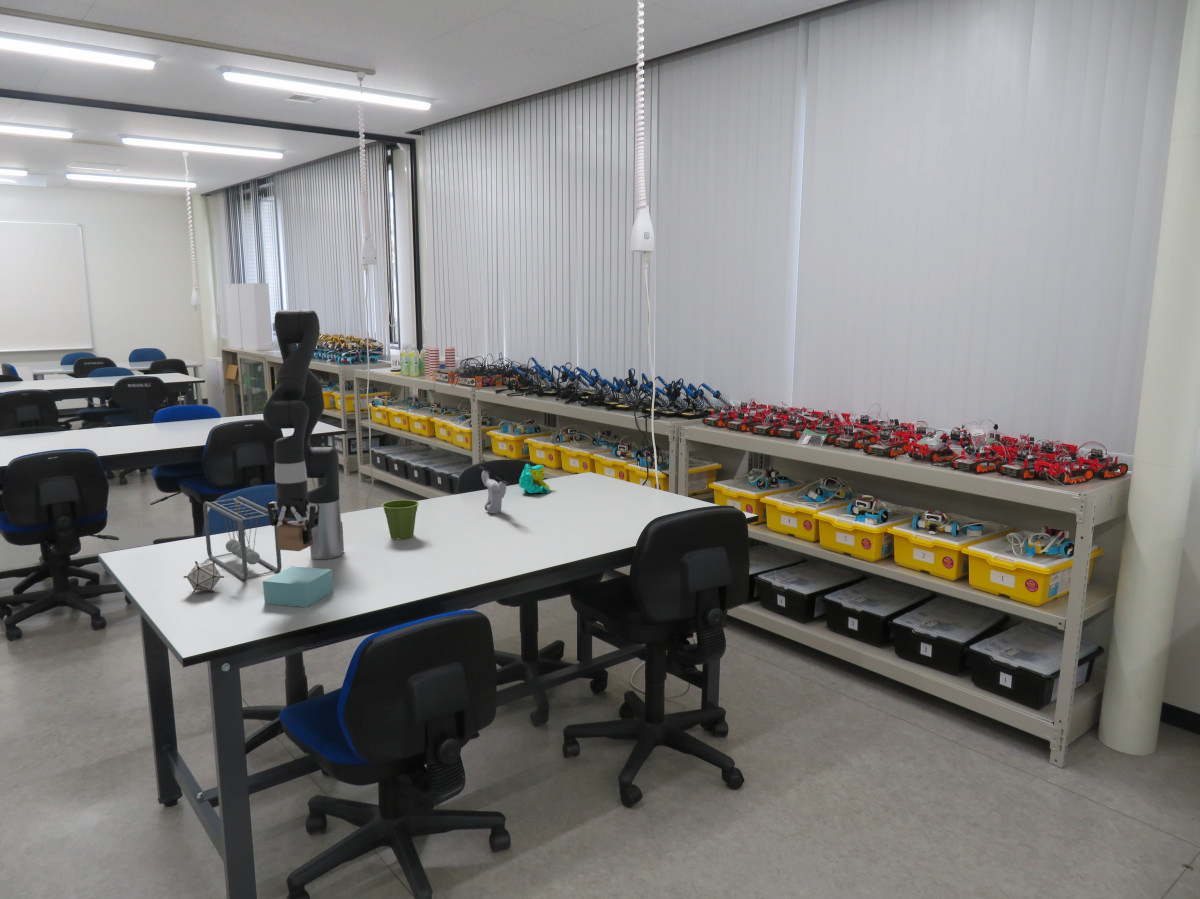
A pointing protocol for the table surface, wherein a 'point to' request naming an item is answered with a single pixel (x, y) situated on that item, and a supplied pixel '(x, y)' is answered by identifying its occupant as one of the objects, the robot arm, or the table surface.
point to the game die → (204, 576)
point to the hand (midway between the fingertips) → (295, 542)
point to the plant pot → (401, 517)
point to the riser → (298, 586)
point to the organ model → (533, 479)
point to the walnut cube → (291, 537)
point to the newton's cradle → (240, 537)
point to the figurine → (493, 492)
